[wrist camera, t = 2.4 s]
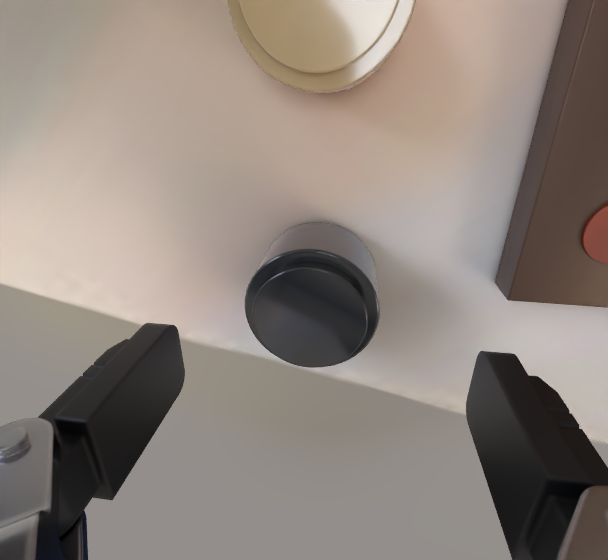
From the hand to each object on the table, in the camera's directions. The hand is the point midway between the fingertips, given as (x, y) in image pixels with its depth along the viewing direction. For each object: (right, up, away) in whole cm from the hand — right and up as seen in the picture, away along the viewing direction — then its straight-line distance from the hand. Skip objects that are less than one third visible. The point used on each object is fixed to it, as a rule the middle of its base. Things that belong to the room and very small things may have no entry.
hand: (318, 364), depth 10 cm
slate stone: (0, +3, +6) cm, 6 cm away
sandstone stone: (0, +11, +2) cm, 11 cm away
